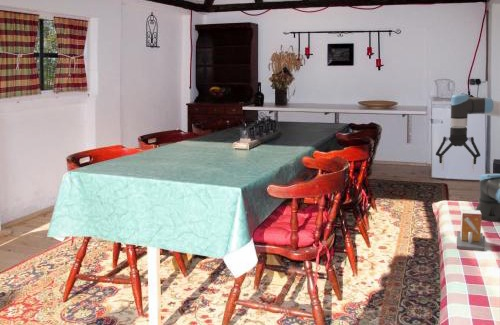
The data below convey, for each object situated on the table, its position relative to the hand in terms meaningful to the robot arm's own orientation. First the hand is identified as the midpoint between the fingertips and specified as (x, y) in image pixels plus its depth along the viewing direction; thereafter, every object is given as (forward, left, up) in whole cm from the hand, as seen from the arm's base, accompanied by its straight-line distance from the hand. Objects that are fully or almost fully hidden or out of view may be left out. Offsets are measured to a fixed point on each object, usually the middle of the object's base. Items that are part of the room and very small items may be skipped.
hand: (457, 170), depth 267 cm
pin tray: (+12, +19, -29) cm, 37 cm away
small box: (+12, +19, -28) cm, 36 cm away
